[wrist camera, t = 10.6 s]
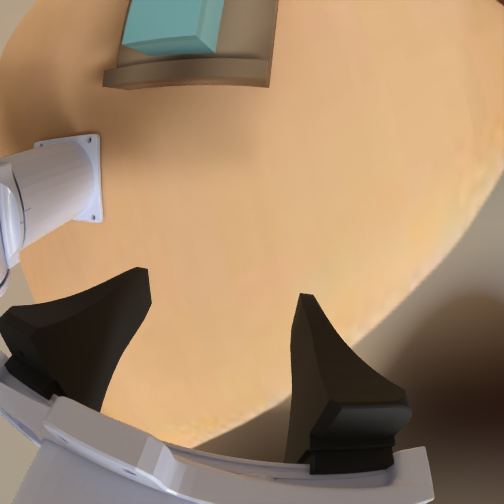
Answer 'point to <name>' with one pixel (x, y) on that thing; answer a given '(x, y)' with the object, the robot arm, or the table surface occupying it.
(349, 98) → the table surface
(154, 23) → the teal rectangular block
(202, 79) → the display stand
